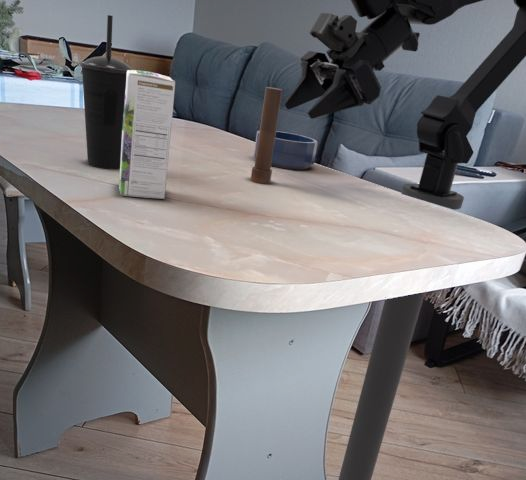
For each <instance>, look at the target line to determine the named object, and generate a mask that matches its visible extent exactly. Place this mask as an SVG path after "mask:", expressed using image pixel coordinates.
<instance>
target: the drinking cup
mask: <svg viewBox="0 0 526 480" xmlns="http://www.w3.org/2000/svg"><path fill="white" fill-rule="evenodd" d="M113 20H114V18H113V15H110V14H107V20H106V21H107V23H106V45H105V47H106V48H105V55H102V56H93V57H90V58H87V59H85V60H84V61H80V62H79V67H81V76H82V77H81V78H82V89H83V90H82V91H83V104H84V105H83V107H84V118H85V119H84V122H85V124H84V125H85V140H86V153H87V154H86V156H87V165H90V166H92V167H95V168H101V169H109V170H110V169H120V161H121V142H122V126H123V114H124V101H125V90H126V74H127V70H135V69H133V68H132V67H131V65H128V64H127V63H126V62H124V61H123V60H121V59H118V58H116V57H112V44H113V43H112V42H113Z"/></svg>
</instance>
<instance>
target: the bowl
mask: <svg viewBox="0 0 526 480" xmlns="http://www.w3.org/2000/svg"><path fill="white" fill-rule="evenodd" d="M259 131H260V130H257V131H256V137H255V143H254V150H253V157H254V158H255V159H256V152H257V145H258V138H259ZM318 143H319V141H317V139H314V138H312V137H309V136H305V135H301V134H296V133H292V132H286V131H281V130H280V131H278V130H276V136H275V143H274V149H273V156H272V162H271V167H276V168H279V169H287V170H298V171H299V170H300V171H301V170H303V171H304V170H308V169H309V168H311V167H313V166H315V165H314V164H315V159H316V154H317V148H318Z"/></svg>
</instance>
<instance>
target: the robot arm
mask: <svg viewBox="0 0 526 480" xmlns="http://www.w3.org/2000/svg"><path fill="white" fill-rule="evenodd" d="M483 1H484V0H350V3H351V4H352V6H353V8H354V10H355V13H356V14H357V17H359V18H365V17H366V19H367V20H372V21H371V22H370V23H368V24H367V25H366V26H365V27H364V28H362V30H360V31H356V29H357V24H358V21H357V19H356V18H355V17H353V16H352V15H351V14H344V15H342V16H341V17H340V18H339V16H338V15H336V14H335V15H334V14H333V13H328V12H327V13H326V12H321V13H320V14H319V15H318V17H317V19H316V21H315V22H314V24H313V26H312V28H311V29H310V31H309V34H310V36H312V38H315V39H317V40H318V41H319V42H321V43H322V44H323V45H324V46H325V47H326V48H328V49H327V50H326V51H325V52H326V53H324V52H320V51H319V52H318V51H313V50H308V51H307V52H306V53H305V54H303V56H301V57H300V67H301V75H300V78H299V80H298V82H297V83H296V85H295V87H293V89H292V91H291V93H290V94H289V95H288V97H287V99H286V101H285V102H284V107H285V109H287V110H291V109H294V108H297V107H299V106H301V105H303V104H306V103H308V102H312V101H313V100H316V99H318V100H316V102H315V103H314V104H313V105H312V106H311V107H310V109H309V110H308V111H307V115H308V117H309V118H310V119H315V118H320V117H324V116H326V115H330V114H333V113H336V112H340V111H344V110H348V109H352V108H356V107H362V106H364V104H366V105H371V104H373V102H375V101H376V100H377V99H378V98H379V97H380V96H381V92H382V91H381V90H382V85H381V84H380V81H379V79H378V77H377V76H376V73H375V72H374V71H377V72H380V71H382V70H383V68H384V69H385V67H386V66H385V64H384V62H385V61H386V60H387V59H388V58H390V57H391V56H392V55H394V53H395V52H396V51H398V50H399V49H400V48H401V49H402V50H403V51H406V52H407V51H408V52H417V51H418V49H419V39H420V38H419V37H420V35H421V34H420V32H417V31H414V30H413V28H412V26H411V25H424V26H425V25H426V26H430V25H432V26H433V25H436V24H438V23H440V22H442V21H443V20H445V19H447V18H449V17H451V16H453V15H454V14H455V13H456V12H457V11H458V10H460V9H461V8H463V7H465V6H469V5H473V4H476V3H479V2H483ZM513 3H514V5H515V6H516V7H517V8H518V10H517V11H516V15H515V17H514V22H513V27H512V28H511V29H510V31H508V33H507V34H506V35H505V36H504V37H503V38H502V40H501V41H500V42H499V43H498V44H497V45H496V47H494V49H493V50H492V51H491V52H490V53H489V54H488V55H487V56H486V58H485V59H484V60H483V61H482V62H481V64H480V65H479V66H478V67H477V68H476V69H475V70H474V71H473V73H472V74H470V75H469V77H468V78H467V80H465V81H464V83H462V85H461V86H460V87H459V88H458V89H457V90H456V92H455V93H454V94H452V95H450V96H444V95H441V94H437V95H436V96H435V97H434V98H433V99H432V100H431V102H430V104H429V105H428V106H427V107H426V108H425V109H423V110H422V111H421V112H420V114H421V116H420V117H419V119H418V120H417V123H416V136H417V139H418V151H419V152H420V153H425V154H426V156H425V158H424V159H425V160H424V162H423V168H422V170H421V171H422V172H421V175H420V179H419V183H418V184H419V185H411V187H410V188H412V189H415V190H419V191H422V192H426V193H429V194H433V195H436V196H439V197H446V196H452V195H456V194H457V193H458V192H457V191H454V190H452V186H453V182H454V179H455V175H456V172H457V168H458V165H459V164H466V165H467V164H468V163H469V162H470V159H471V158H472V157H473V155H474V149H473V147H472V145H471V143H470V141H469V140H468V137H467V136H469V133H470V132H471V131H472V128H473V126H474V121H475V118H476V114H477V112H478V111H479V109H480V108H481V107H482V106H483V105H484V104H485V103H486V102H487V101H488V99H489V98H490V97H491V96H492V95H493V94H494V92H496V91H497V89H499V87H500V86H501V85H502V84H503V83H504V82H505V80H506V79H507V78H508V77H509V76H510V75H511V74H512V73H513V71H514V70H515V69H517V67H518V66H519V65H520V64H521V62H522V61H523V60H525V58H526V0H513ZM326 54H327V55H326ZM327 56H328V57H327ZM328 58H329V59H330V60H331V62H330V60H329V59H328Z"/></svg>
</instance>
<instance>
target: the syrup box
mask: <svg viewBox="0 0 526 480" xmlns="http://www.w3.org/2000/svg"><path fill="white" fill-rule="evenodd" d="M175 89H176V80H173V79H172V78H171V77H170V76H168V75H163V74H160V73H157V72H152V71H147V70H139V69H137V70H136V69H134V70H127V74H126V90H125V101H124V114H123V126H122V142H121V161H120V168H119V182H118V186H119V188H118V189H119V194H120V195H121V196H124V197H136V198H145V199H159V200H165V199H166V186H167V179H168V166H169V155H170V144H171V134H172V123H173V116H174V115H173V113H174V102H175Z"/></svg>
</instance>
